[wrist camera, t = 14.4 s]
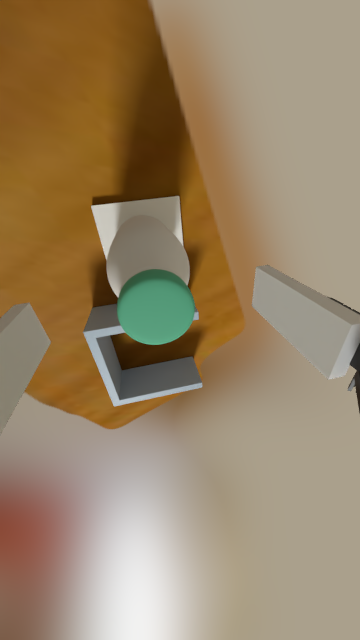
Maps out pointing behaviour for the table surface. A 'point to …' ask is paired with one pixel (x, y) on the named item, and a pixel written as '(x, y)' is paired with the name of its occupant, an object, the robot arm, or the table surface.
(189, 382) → the grey u-shaped piece
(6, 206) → the table surface
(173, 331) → the milk bottle
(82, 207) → the table surface
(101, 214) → the tile
